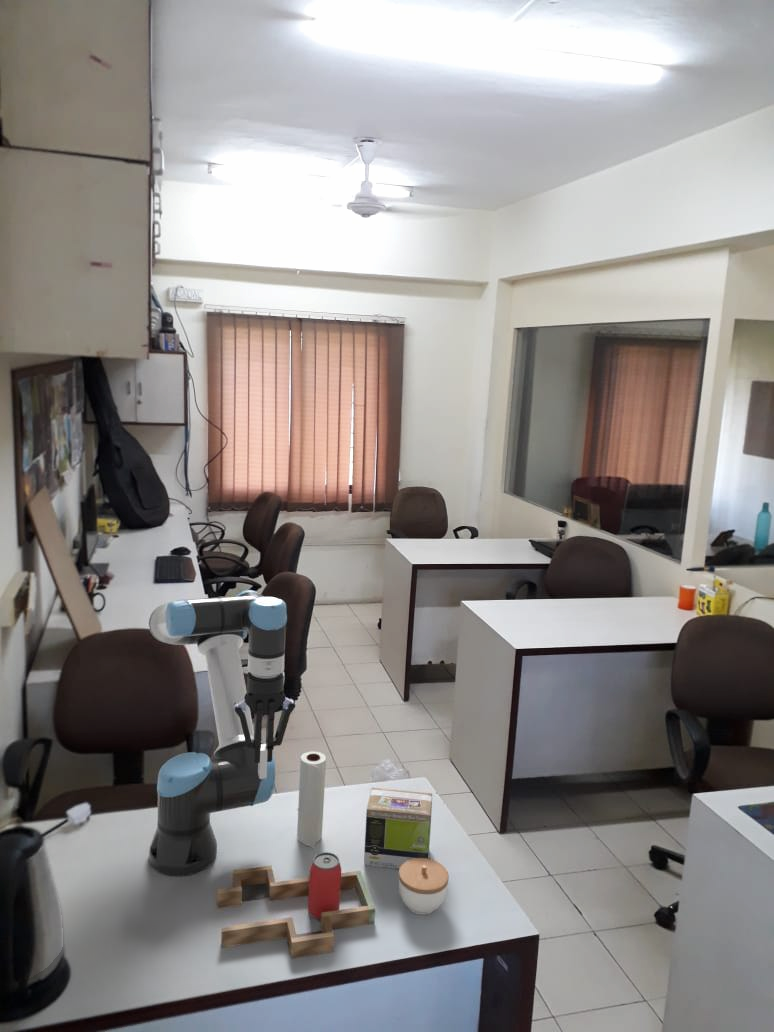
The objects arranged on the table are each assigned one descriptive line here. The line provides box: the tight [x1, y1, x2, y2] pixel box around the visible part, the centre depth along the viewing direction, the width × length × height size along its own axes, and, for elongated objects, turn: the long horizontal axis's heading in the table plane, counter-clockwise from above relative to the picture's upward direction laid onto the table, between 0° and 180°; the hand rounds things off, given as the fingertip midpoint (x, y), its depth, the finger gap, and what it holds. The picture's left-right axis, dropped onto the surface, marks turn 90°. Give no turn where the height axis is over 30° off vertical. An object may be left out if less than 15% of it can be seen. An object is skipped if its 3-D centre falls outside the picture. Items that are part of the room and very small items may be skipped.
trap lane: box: [216, 864, 376, 959], centre depth 160 cm, size 31×24×4 cm
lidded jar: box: [398, 858, 450, 916], centre depth 165 cm, size 11×11×9 cm
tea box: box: [363, 787, 433, 870], centre depth 180 cm, size 15×10×15 cm, turn 84°
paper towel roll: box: [296, 750, 327, 850], centre depth 184 cm, size 7×6×21 cm
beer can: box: [307, 851, 342, 921], centre depth 161 cm, size 7×7×12 cm
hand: (262, 775), depth 163 cm, fingers closed
